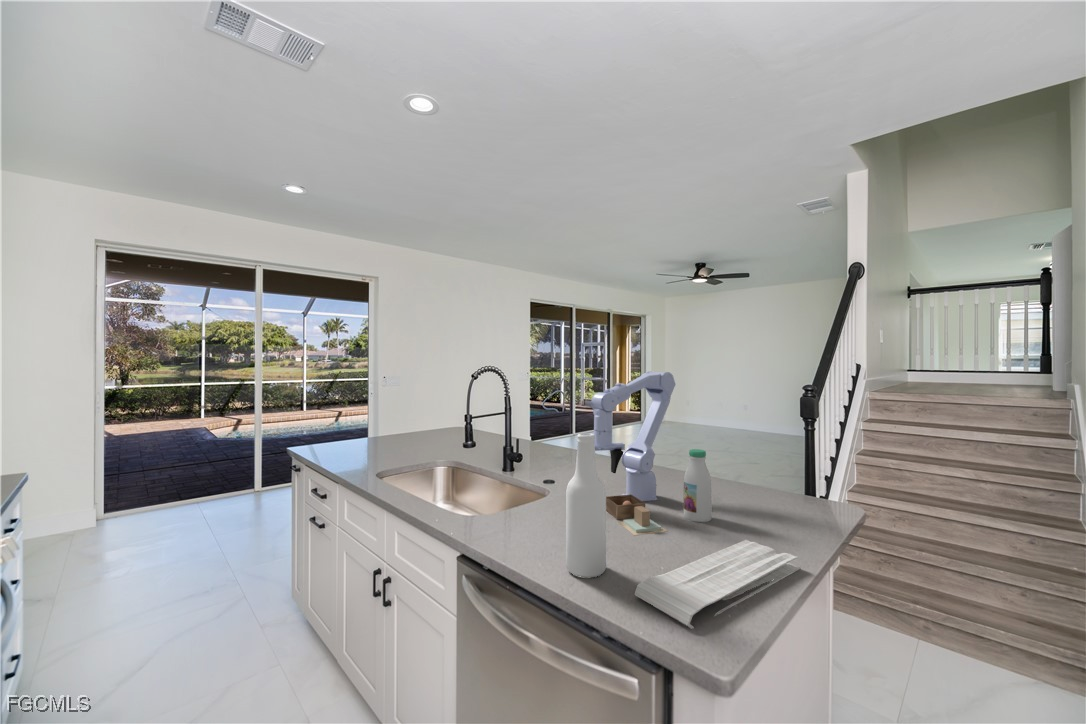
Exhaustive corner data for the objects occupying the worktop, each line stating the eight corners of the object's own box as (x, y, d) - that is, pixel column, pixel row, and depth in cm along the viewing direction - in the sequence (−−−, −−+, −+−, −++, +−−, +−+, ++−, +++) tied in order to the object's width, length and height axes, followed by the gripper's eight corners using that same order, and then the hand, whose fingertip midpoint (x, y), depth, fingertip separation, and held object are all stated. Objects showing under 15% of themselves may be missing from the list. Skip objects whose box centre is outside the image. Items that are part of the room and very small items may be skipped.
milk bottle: (707, 514, 133) (707, 448, 133) (714, 523, 125) (714, 453, 125) (681, 513, 134) (681, 447, 134) (686, 522, 126) (686, 452, 126)
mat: (649, 519, 129) (649, 518, 129) (667, 532, 119) (667, 531, 119) (617, 522, 126) (617, 521, 126) (634, 536, 116) (634, 535, 116)
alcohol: (580, 557, 104) (580, 429, 104) (613, 568, 98) (613, 433, 98) (558, 571, 97) (558, 434, 97) (591, 583, 92) (591, 439, 91)
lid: (647, 520, 127) (647, 503, 127) (661, 529, 120) (661, 512, 120) (623, 522, 125) (623, 505, 125) (636, 532, 118) (636, 514, 118)
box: (631, 508, 139) (631, 494, 139) (645, 517, 130) (645, 503, 130) (604, 510, 136) (604, 496, 136) (617, 520, 128) (617, 505, 127)
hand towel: (801, 553, 98) (687, 613, 75) (801, 570, 98) (687, 635, 75) (748, 535, 108) (633, 583, 86) (748, 551, 108) (633, 602, 86)
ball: (629, 508, 137) (629, 499, 137) (634, 511, 134) (634, 502, 134) (620, 509, 136) (620, 499, 136) (625, 512, 133) (625, 502, 133)
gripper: (586, 433, 135) (585, 477, 135) (629, 431, 139) (628, 475, 139) (578, 429, 142) (577, 472, 142) (619, 428, 146) (619, 469, 146)
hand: (602, 473), depth 141 cm, fingers open, 7 cm apart
